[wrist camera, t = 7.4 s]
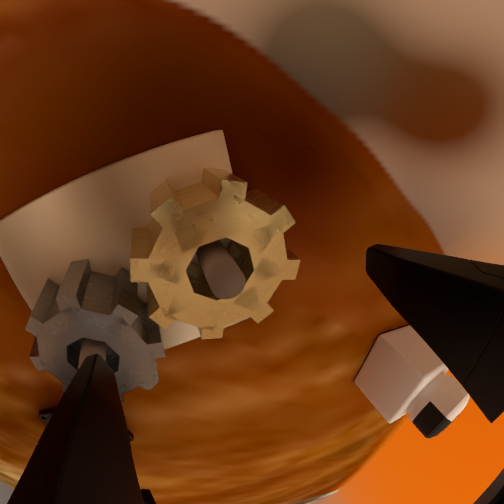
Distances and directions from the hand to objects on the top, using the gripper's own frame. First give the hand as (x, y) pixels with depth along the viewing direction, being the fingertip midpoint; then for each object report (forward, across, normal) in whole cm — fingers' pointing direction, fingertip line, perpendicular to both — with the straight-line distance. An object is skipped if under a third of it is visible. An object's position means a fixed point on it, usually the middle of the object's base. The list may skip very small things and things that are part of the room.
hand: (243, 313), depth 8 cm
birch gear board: (+7, +4, 0) cm, 8 cm away
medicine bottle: (+7, -15, +20) cm, 26 cm away
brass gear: (+6, 0, 0) cm, 6 cm away
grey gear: (+6, +6, +2) cm, 9 cm away
